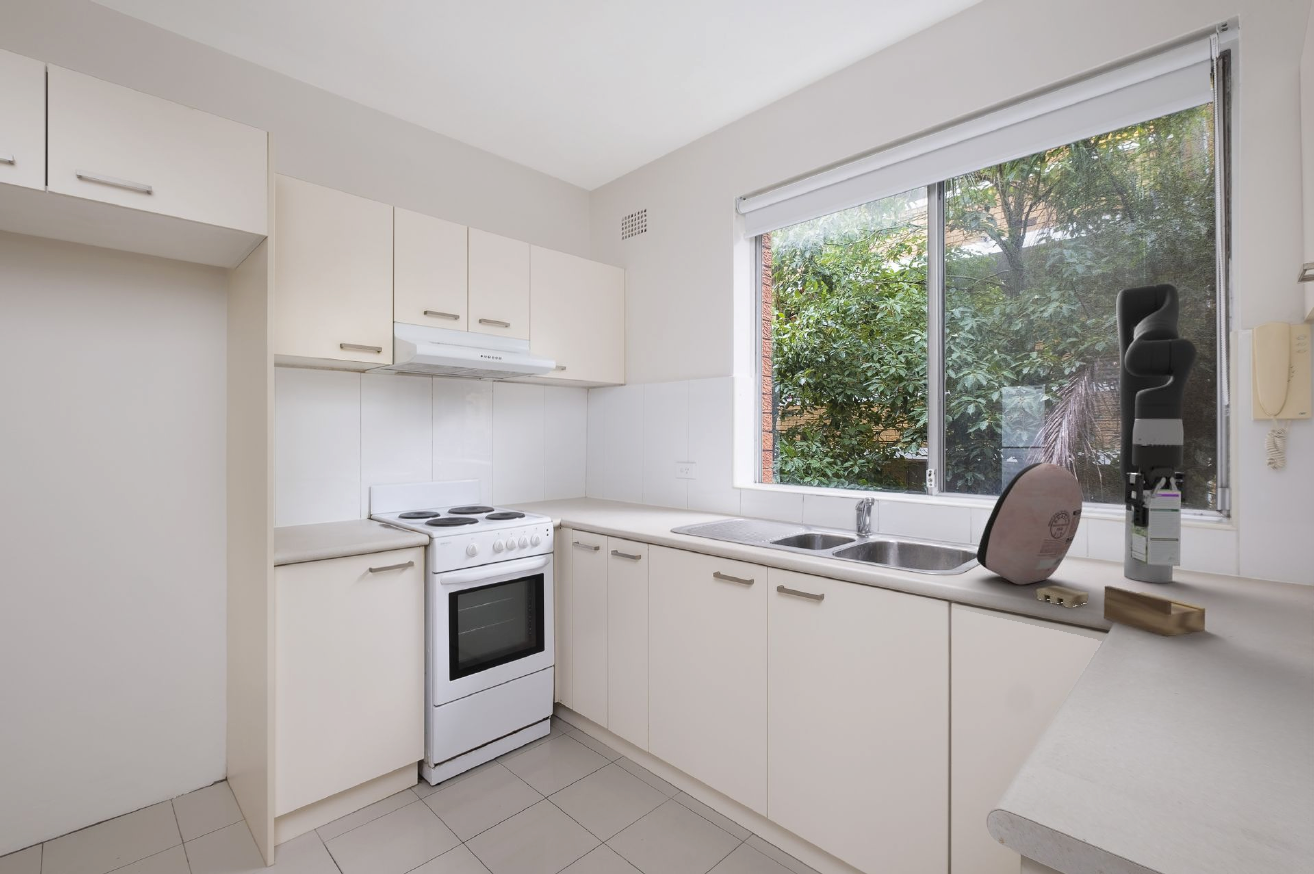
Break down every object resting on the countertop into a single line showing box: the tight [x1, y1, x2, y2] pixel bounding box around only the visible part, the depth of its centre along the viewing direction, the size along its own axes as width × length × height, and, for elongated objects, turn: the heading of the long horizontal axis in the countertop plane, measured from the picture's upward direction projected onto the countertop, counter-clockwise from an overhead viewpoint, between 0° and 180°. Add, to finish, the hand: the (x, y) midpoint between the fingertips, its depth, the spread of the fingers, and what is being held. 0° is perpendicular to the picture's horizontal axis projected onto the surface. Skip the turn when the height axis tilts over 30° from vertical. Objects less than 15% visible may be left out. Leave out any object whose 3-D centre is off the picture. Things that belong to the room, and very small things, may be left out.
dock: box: [1103, 585, 1206, 637], centre depth 115 cm, size 11×11×6 cm
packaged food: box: [976, 461, 1083, 586], centre depth 145 cm, size 22×20×30 cm
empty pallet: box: [1036, 585, 1089, 609], centre depth 129 cm, size 7×7×2 cm
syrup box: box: [1131, 489, 1182, 567], centre depth 115 cm, size 6×6×14 cm
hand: (1155, 525), depth 115 cm, fingers closed on syrup box, 8 cm apart
